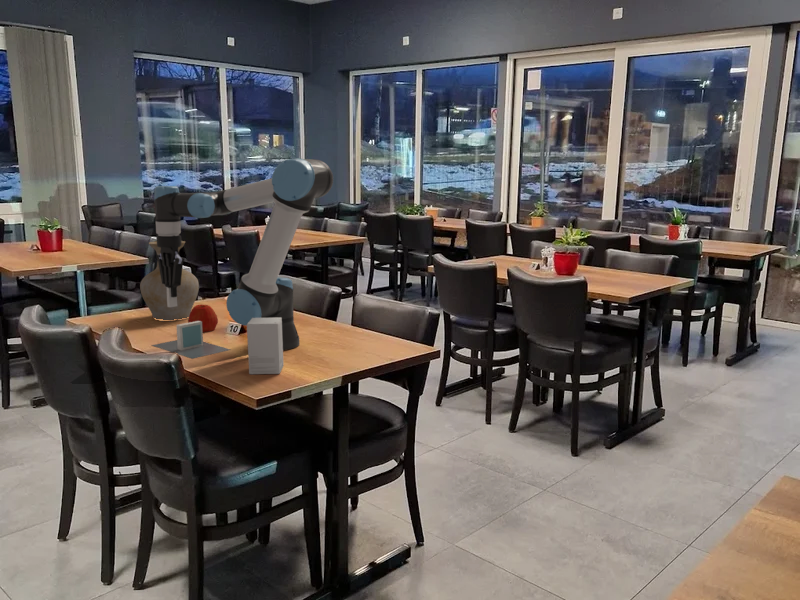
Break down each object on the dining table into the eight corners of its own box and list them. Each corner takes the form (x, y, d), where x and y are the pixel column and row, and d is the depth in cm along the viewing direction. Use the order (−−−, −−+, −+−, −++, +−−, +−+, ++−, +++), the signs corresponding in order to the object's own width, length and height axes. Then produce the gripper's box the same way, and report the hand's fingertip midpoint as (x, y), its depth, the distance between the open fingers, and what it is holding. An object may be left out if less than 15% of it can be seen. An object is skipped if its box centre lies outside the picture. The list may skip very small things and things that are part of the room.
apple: (223, 331, 242) (222, 302, 240) (204, 337, 233) (203, 308, 231) (201, 328, 246) (200, 300, 244) (182, 334, 237) (180, 305, 235)
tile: (203, 345, 217) (202, 321, 215) (181, 350, 211) (180, 325, 209) (199, 344, 218) (198, 320, 217) (177, 349, 212) (176, 324, 211)
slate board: (231, 353, 212) (231, 349, 212) (192, 362, 202) (192, 358, 202) (189, 340, 228) (189, 337, 228) (151, 348, 217) (151, 345, 217)
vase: (187, 309, 279) (183, 238, 273) (209, 318, 262) (205, 242, 257) (134, 316, 265) (129, 241, 260) (154, 326, 249) (148, 246, 243)
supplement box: (284, 365, 199) (282, 316, 196) (280, 374, 191) (278, 323, 188) (253, 365, 199) (252, 316, 196) (248, 374, 190) (246, 323, 187)
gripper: (190, 235, 212) (193, 307, 217) (168, 232, 221) (172, 302, 225) (169, 237, 207) (172, 311, 211) (147, 233, 215) (151, 305, 220)
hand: (172, 306), depth 218 cm, fingers closed
